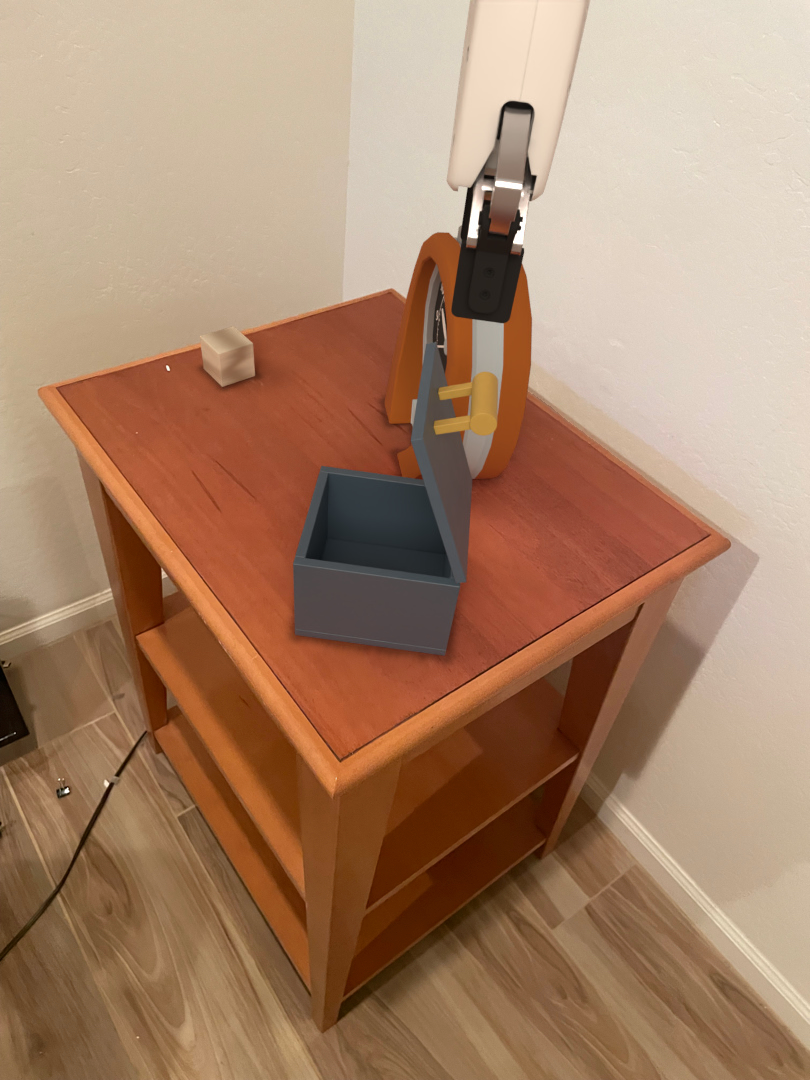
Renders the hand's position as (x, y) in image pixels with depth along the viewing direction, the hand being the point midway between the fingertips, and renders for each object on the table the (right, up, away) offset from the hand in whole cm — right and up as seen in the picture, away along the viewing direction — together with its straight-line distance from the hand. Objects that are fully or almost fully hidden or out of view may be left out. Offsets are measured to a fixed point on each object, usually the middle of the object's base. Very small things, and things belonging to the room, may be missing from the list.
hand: (482, 277), depth 43 cm
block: (-25, +4, +43) cm, 50 cm away
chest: (-7, -20, +21) cm, 30 cm away
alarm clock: (-1, -4, +38) cm, 38 cm away
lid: (-2, -10, +10) cm, 15 cm away
